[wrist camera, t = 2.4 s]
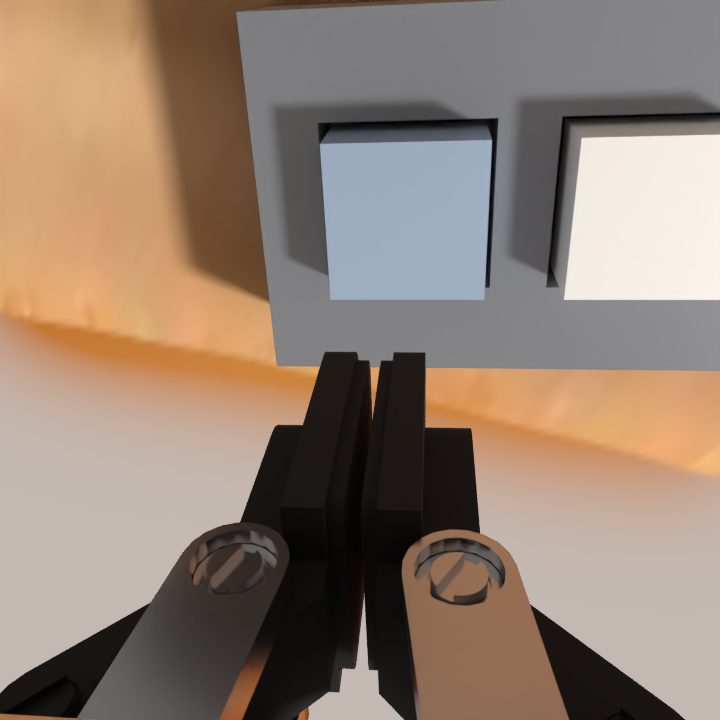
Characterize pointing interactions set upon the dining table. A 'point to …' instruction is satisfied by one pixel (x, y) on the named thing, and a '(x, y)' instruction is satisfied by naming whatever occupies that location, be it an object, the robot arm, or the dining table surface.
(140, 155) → the dining table surface
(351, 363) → the robot arm
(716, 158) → the off white key
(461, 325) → the key panel
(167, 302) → the dining table surface
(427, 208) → the slate blue key
